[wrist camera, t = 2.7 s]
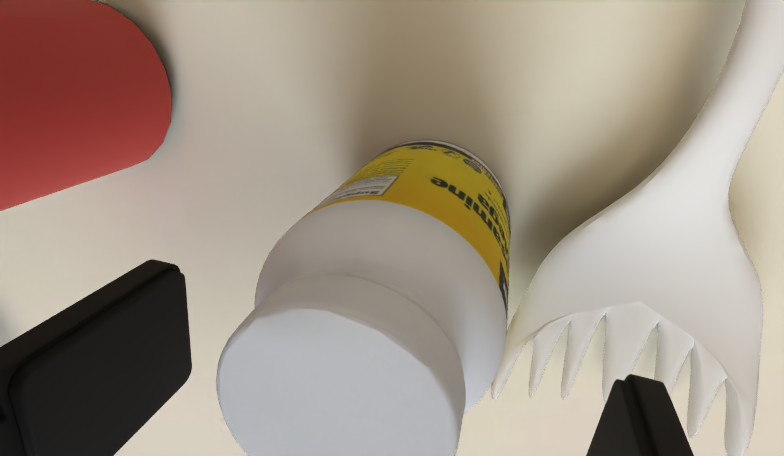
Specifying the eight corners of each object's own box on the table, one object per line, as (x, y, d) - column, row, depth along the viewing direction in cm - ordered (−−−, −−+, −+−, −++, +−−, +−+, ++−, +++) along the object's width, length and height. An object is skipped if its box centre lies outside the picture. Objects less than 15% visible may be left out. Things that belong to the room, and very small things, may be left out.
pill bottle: (534, 259, 18) (558, 530, 8) (393, 301, 20) (276, 555, 10) (474, 107, 17) (413, 214, 7) (328, 171, 19) (118, 322, 9)
